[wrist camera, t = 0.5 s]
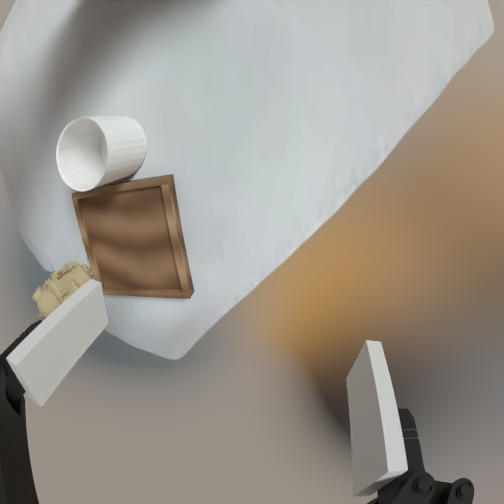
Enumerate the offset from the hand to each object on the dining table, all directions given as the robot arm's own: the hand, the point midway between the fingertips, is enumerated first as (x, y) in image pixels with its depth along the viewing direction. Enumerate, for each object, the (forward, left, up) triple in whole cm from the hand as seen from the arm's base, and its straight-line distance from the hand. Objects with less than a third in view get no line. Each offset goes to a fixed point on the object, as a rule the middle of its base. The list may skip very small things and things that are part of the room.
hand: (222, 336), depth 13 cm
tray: (+4, -22, -26) cm, 34 cm away
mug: (-11, -22, -26) cm, 36 cm away
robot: (+11, -38, -26) cm, 47 cm away
